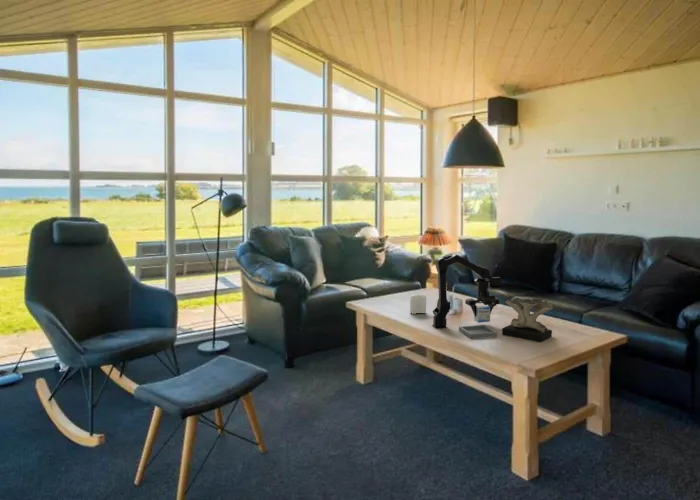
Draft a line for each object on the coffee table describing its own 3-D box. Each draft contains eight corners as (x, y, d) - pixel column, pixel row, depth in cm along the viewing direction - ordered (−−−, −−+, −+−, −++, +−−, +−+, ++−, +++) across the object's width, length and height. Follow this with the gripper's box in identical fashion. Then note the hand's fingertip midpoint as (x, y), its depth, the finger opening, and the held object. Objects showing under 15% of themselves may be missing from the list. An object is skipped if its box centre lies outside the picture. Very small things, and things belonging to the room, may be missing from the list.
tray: (470, 338, 269) (470, 334, 269) (458, 330, 284) (458, 326, 283) (496, 336, 272) (496, 332, 272) (484, 329, 287) (484, 324, 286)
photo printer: (425, 312, 326) (425, 293, 324) (426, 313, 321) (427, 294, 320) (409, 313, 324) (409, 293, 323) (410, 314, 320) (411, 295, 318)
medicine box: (477, 322, 291) (478, 307, 290) (473, 320, 296) (474, 306, 295) (490, 321, 293) (490, 306, 292) (486, 319, 298) (486, 305, 297)
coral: (558, 338, 268) (560, 298, 265) (541, 347, 254) (542, 304, 251) (514, 329, 286) (515, 291, 283) (495, 337, 271) (496, 297, 269)
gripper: (473, 293, 283) (472, 320, 285) (504, 291, 286) (504, 318, 288) (465, 289, 293) (464, 315, 295) (495, 287, 297) (494, 314, 299)
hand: (482, 316), depth 294 cm, fingers closed on medicine box, 8 cm apart
